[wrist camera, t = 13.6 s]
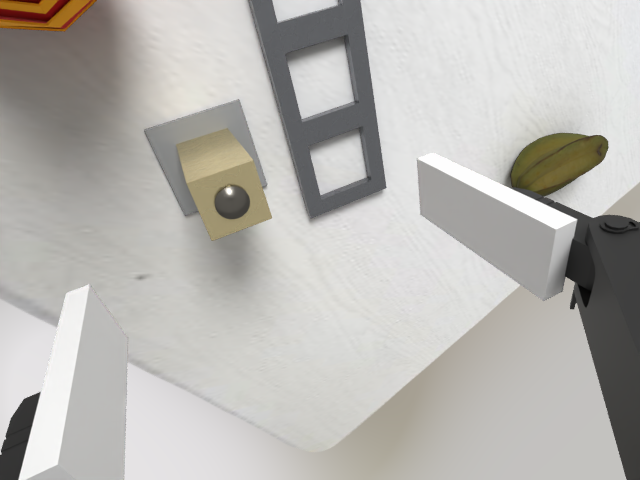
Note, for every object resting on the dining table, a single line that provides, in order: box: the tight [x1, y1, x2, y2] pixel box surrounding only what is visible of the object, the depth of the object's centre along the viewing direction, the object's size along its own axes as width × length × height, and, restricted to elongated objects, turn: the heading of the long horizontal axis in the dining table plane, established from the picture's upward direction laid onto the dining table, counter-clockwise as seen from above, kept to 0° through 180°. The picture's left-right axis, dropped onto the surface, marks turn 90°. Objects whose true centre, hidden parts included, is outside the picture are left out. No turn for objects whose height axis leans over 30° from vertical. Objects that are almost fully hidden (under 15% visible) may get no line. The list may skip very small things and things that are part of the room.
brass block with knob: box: [176, 128, 272, 241], centre depth 33 cm, size 5×5×11 cm
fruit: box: [511, 133, 608, 196], centre depth 53 cm, size 11×12×7 cm
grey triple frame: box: [249, 0, 386, 218], centre depth 38 cm, size 10×28×1 cm, turn 14°
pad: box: [144, 99, 267, 216], centre depth 38 cm, size 9×9×1 cm
